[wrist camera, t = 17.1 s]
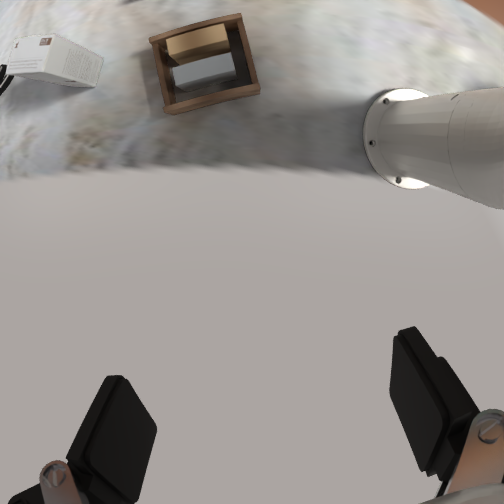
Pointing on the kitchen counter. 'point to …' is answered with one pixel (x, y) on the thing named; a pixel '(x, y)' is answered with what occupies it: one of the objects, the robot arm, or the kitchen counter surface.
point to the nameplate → (2, 83)
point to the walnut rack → (173, 108)
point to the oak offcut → (199, 44)
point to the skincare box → (54, 61)
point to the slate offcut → (205, 72)
